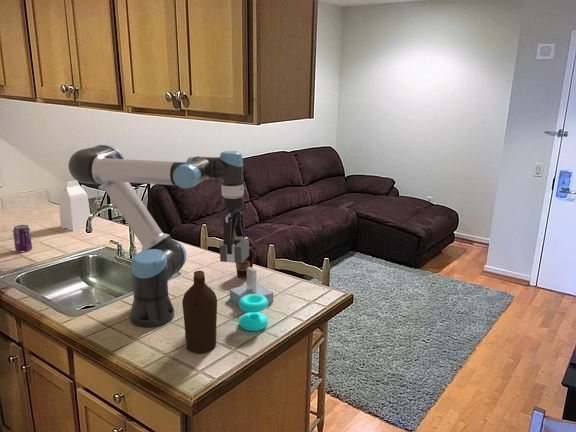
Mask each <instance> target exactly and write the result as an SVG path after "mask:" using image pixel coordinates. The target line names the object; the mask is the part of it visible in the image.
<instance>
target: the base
mask: <svg viewBox="0 0 576 432" xmlns="http://www.w3.org/2000/svg"><path fill="white" fill-rule="evenodd" d="M249 294H259V295H262V296H264V297H266V298H267V300H268V305H270V304H272V303H274V292H273V291H272V290H270V289H268V288H266V287H264V285H261V284H259V283H258V282H256V293H251V292H250V291H248V290H247V284H244V285H241V286H238V287H233V288H230V289H229V300H230V301H232V302H233V303H235V304H237V305H239V300H240V299H241V298H242V297H243V296H245V295H249Z"/></svg>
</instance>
